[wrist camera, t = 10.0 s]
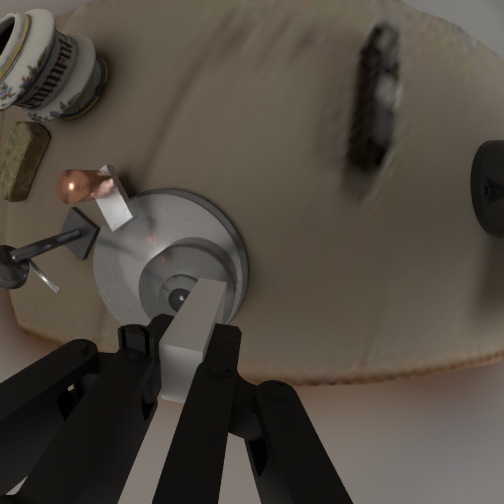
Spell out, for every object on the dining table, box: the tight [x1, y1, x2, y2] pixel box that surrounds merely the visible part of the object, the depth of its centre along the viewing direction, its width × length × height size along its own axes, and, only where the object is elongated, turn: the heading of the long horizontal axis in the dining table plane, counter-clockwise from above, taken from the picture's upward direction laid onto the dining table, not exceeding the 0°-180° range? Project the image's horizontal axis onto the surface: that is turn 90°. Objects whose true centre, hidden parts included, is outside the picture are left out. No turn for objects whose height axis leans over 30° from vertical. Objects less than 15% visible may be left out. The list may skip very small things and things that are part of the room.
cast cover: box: [138, 237, 238, 325], centre depth 26 cm, size 9×9×6 cm
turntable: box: [56, 165, 243, 327], centre depth 25 cm, size 18×22×9 cm
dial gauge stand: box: [0, 207, 100, 294], centre depth 23 cm, size 8×5×16 cm, turn 53°
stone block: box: [0, 121, 50, 202], centre depth 26 cm, size 6×12×5 cm, turn 145°
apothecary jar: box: [0, 9, 108, 122], centre depth 17 cm, size 12×12×18 cm
